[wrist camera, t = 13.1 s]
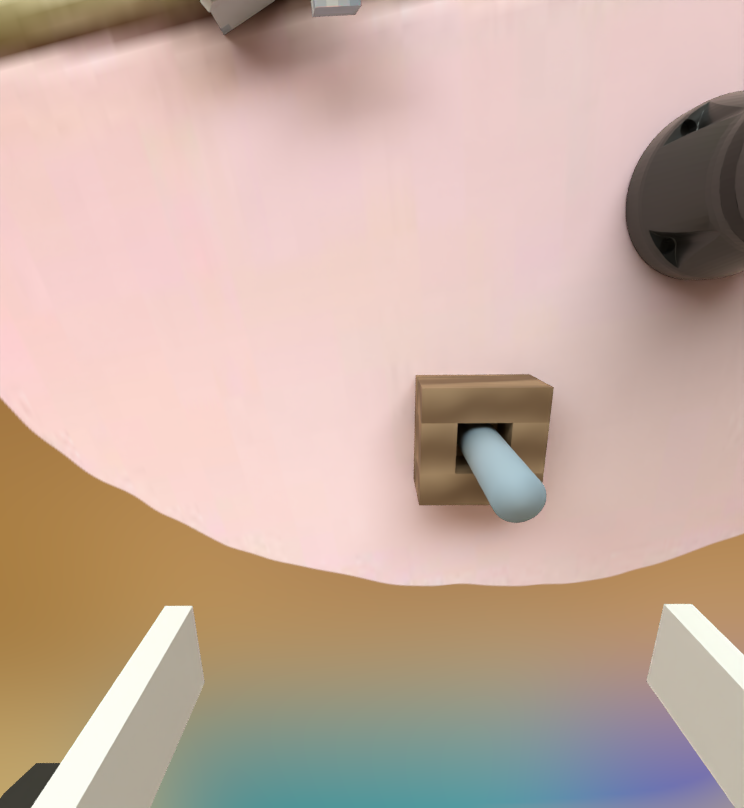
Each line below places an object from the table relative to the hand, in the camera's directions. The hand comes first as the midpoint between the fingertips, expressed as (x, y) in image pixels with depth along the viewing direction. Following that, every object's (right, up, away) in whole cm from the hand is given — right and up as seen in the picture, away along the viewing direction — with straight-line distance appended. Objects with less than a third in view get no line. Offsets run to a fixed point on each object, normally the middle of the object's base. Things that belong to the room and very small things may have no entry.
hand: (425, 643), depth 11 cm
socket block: (+9, +4, +33) cm, 34 cm away
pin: (+9, +4, +31) cm, 33 cm away
